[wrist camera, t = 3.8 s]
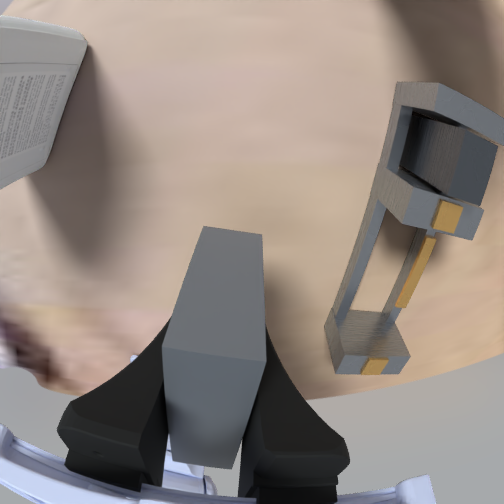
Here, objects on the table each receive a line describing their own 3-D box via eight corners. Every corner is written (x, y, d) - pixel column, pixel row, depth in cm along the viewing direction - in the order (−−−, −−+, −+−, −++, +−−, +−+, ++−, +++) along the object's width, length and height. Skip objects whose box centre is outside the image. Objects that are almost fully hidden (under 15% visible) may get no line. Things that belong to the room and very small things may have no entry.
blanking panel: (238, 355, 17) (231, 469, 11) (194, 349, 17) (172, 461, 10) (262, 234, 13) (266, 361, 7) (203, 225, 13) (162, 346, 7)
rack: (381, 330, 25) (402, 383, 19) (324, 326, 24) (337, 384, 19) (462, 110, 16) (520, 125, 10) (396, 81, 15) (450, 83, 10)
